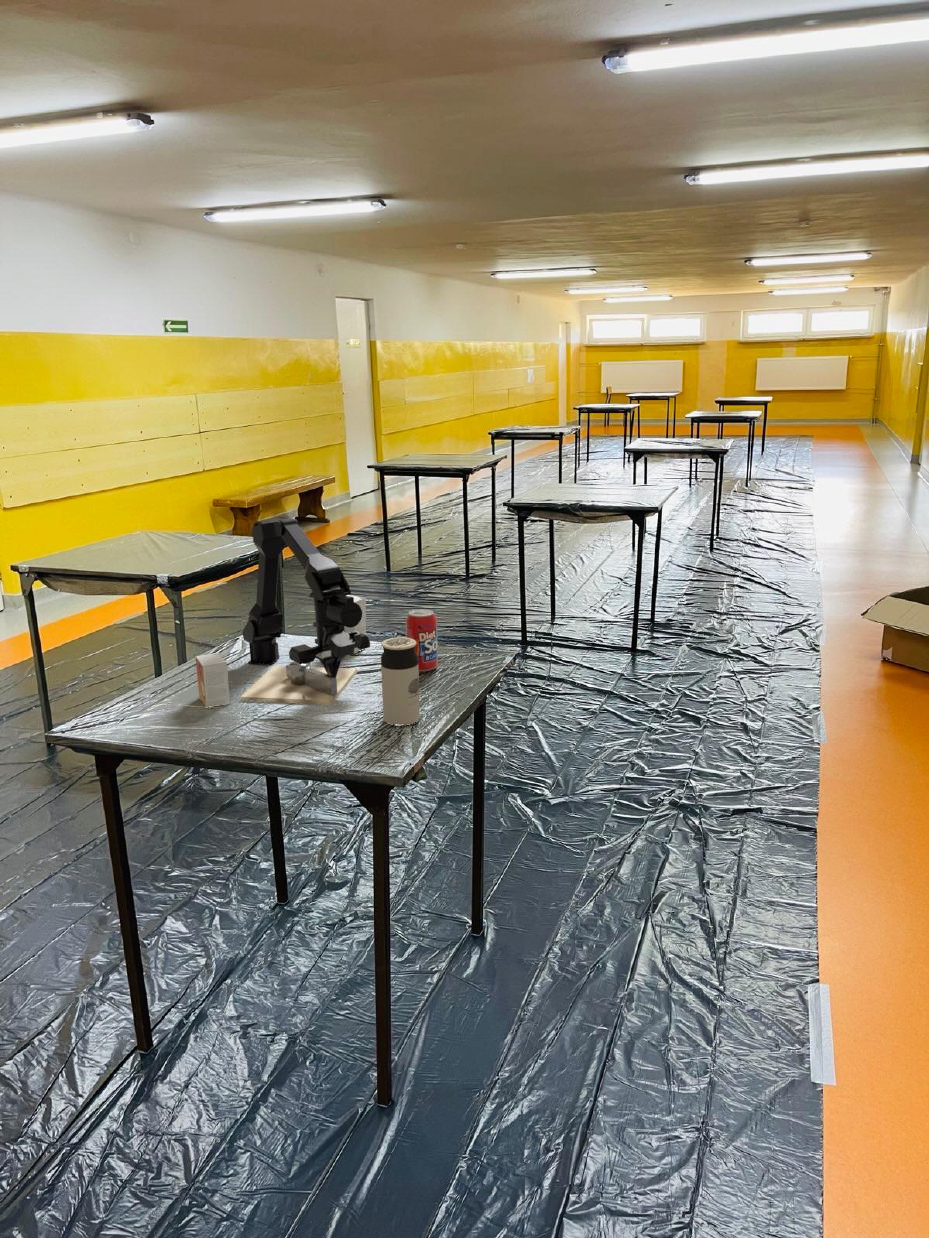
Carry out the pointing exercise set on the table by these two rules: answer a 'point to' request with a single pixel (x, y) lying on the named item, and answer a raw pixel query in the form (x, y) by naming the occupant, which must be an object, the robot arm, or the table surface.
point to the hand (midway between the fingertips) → (332, 681)
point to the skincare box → (362, 624)
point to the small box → (212, 679)
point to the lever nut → (311, 678)
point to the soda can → (423, 637)
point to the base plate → (294, 688)
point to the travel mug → (400, 681)
